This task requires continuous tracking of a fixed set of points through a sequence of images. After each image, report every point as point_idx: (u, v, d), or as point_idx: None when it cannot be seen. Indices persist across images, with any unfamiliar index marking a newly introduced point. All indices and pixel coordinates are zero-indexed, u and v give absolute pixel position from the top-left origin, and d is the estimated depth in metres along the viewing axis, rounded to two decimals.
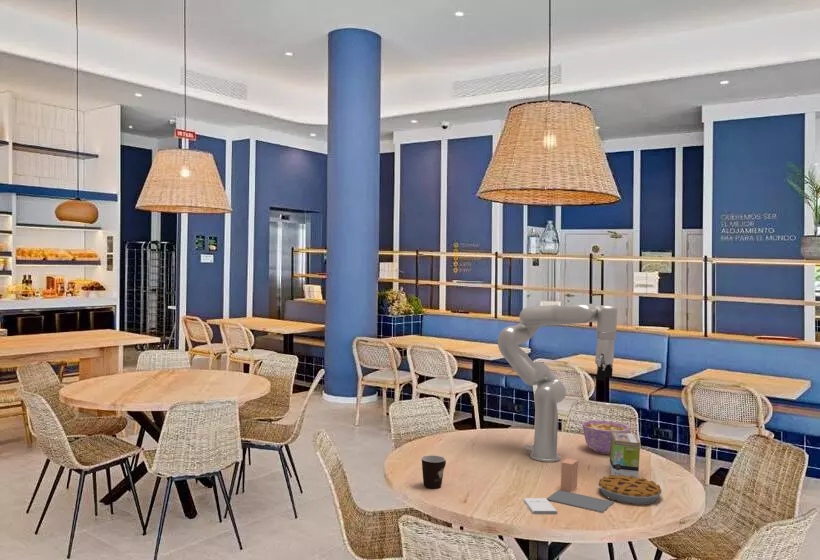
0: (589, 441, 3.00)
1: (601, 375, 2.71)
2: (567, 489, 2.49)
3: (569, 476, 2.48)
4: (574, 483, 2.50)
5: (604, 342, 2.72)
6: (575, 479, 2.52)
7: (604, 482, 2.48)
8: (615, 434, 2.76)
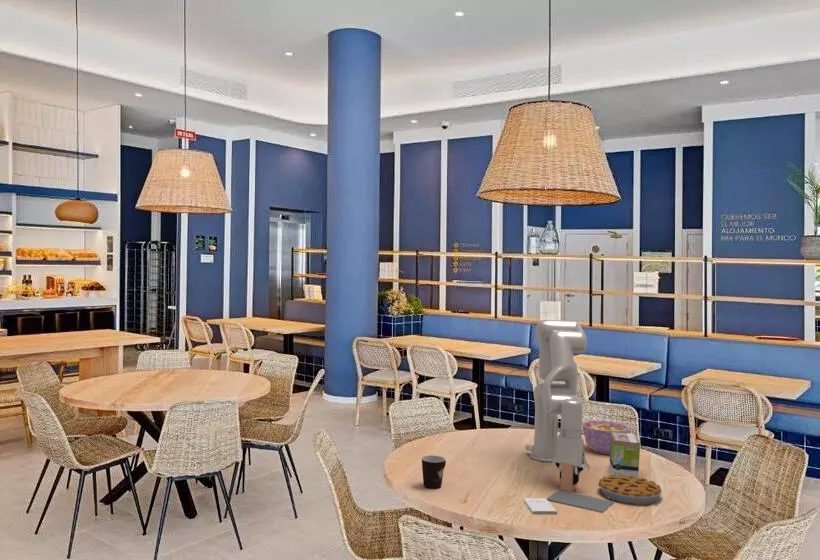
0: (589, 441, 3.00)
1: (578, 478, 2.50)
2: (567, 489, 2.49)
3: (569, 476, 2.48)
4: None
5: None
6: None
7: (604, 482, 2.48)
8: (615, 434, 2.76)
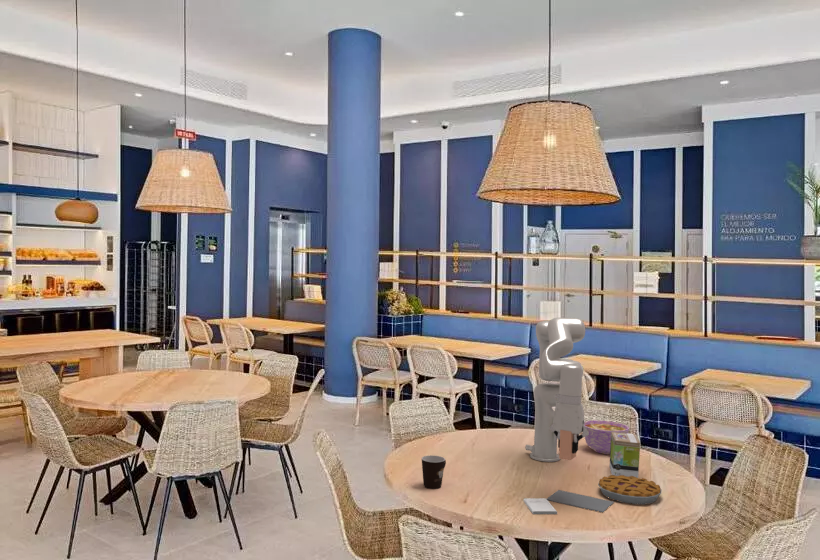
0: (589, 441, 3.00)
1: (577, 447, 2.39)
2: (566, 458, 2.38)
3: (568, 444, 2.37)
4: None
5: (582, 407, 2.38)
6: None
7: (604, 482, 2.48)
8: (615, 434, 2.76)
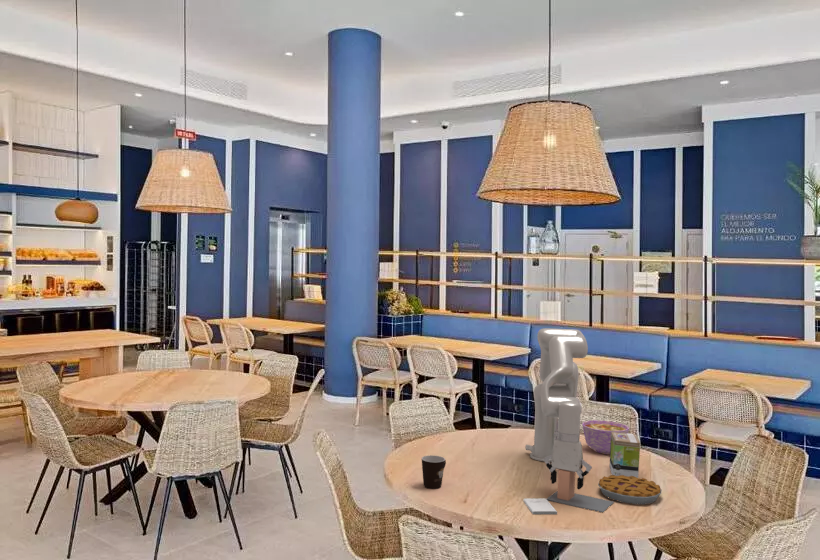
0: (589, 441, 3.00)
1: (582, 482, 2.38)
2: (564, 498, 2.38)
3: (566, 484, 2.38)
4: (571, 492, 2.40)
5: (581, 444, 2.38)
6: (572, 487, 2.41)
7: (604, 482, 2.48)
8: (615, 434, 2.76)
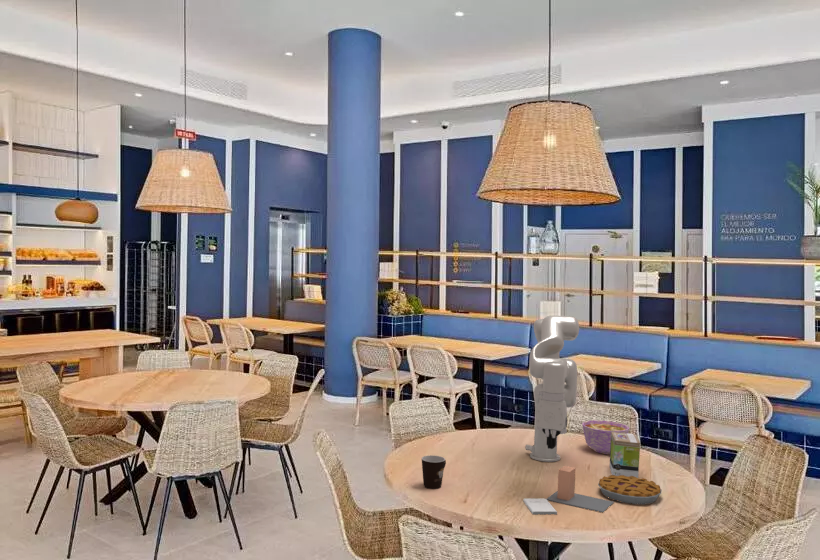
0: (589, 441, 3.00)
1: (555, 442, 2.43)
2: (564, 498, 2.38)
3: (566, 484, 2.38)
4: (571, 492, 2.40)
5: (565, 403, 2.42)
6: (572, 487, 2.41)
7: (604, 482, 2.48)
8: (615, 434, 2.76)
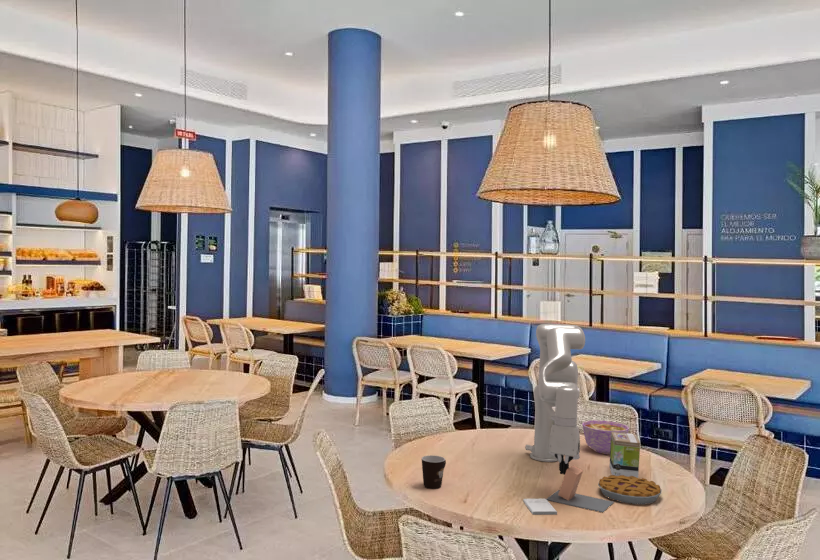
0: (589, 441, 3.00)
1: None
2: (565, 497, 2.38)
3: (570, 485, 2.37)
4: (573, 492, 2.39)
5: (578, 429, 2.39)
6: (575, 488, 2.40)
7: (604, 482, 2.48)
8: (615, 434, 2.76)
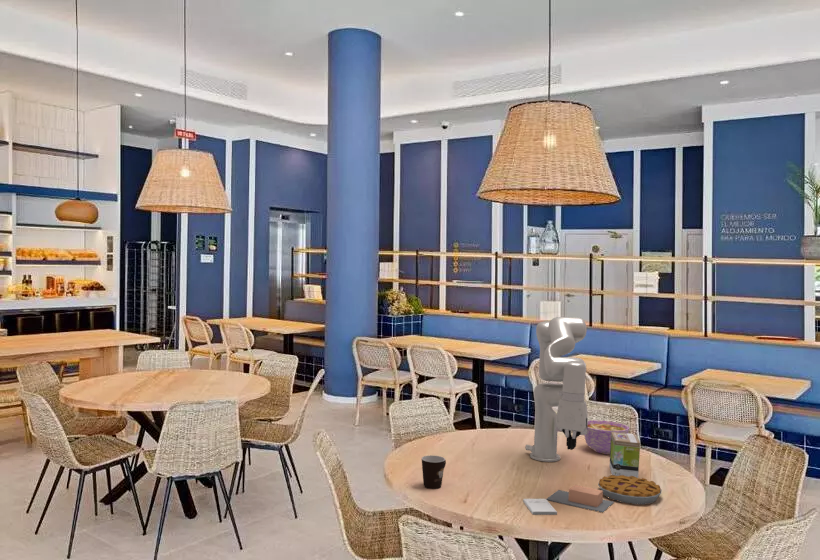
0: (589, 441, 3.00)
1: (575, 443, 2.40)
2: (570, 496, 2.37)
3: (583, 501, 2.34)
4: None
5: None
6: None
7: (604, 482, 2.48)
8: (615, 434, 2.76)
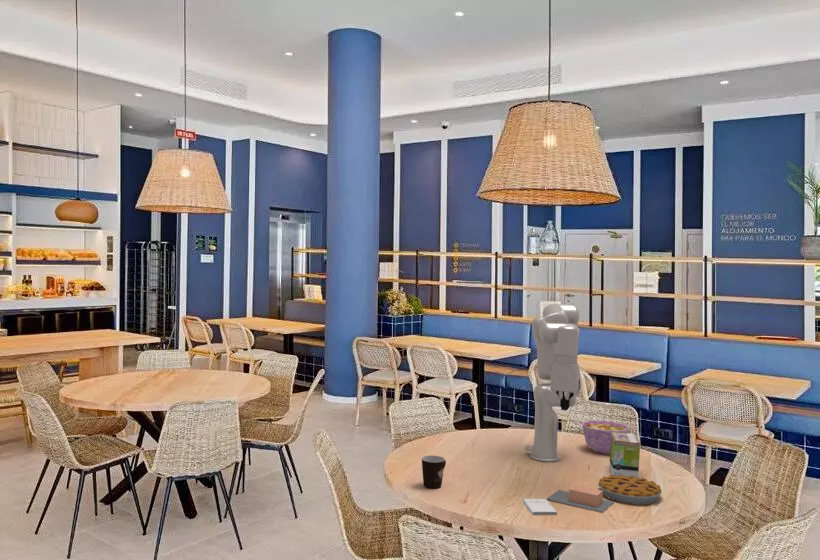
0: (589, 441, 3.00)
1: (569, 404, 2.50)
2: (570, 496, 2.37)
3: (583, 501, 2.34)
4: None
5: None
6: None
7: (604, 482, 2.48)
8: (615, 434, 2.76)
